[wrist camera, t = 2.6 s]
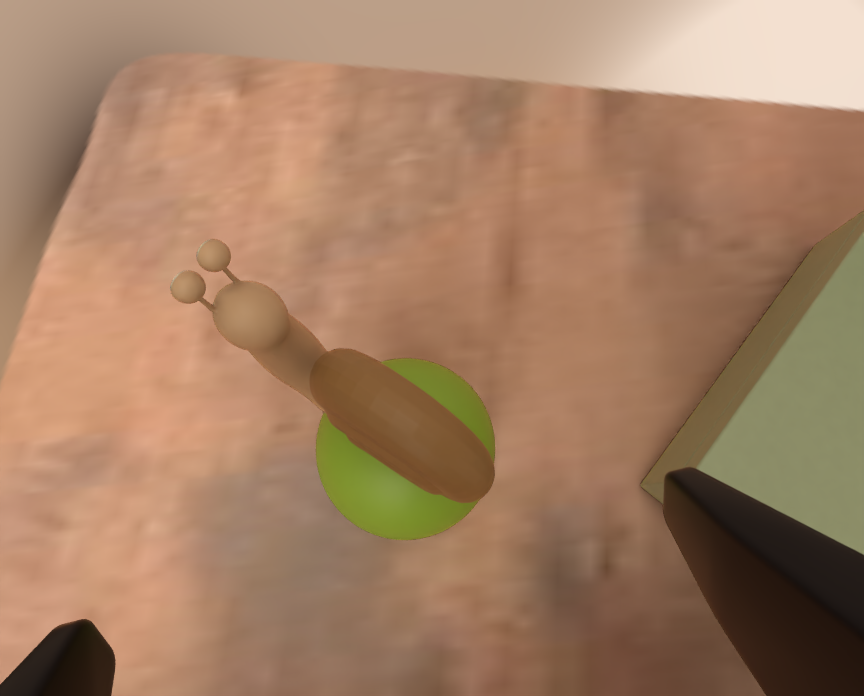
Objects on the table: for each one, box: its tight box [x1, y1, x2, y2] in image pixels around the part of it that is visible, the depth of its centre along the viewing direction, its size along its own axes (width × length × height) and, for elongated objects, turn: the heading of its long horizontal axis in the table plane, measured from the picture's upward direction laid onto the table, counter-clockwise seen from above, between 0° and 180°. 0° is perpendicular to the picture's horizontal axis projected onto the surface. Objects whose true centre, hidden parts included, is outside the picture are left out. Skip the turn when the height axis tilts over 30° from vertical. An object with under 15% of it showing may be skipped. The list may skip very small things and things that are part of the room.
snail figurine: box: [170, 239, 495, 540], centre depth 14 cm, size 5×6×12 cm
